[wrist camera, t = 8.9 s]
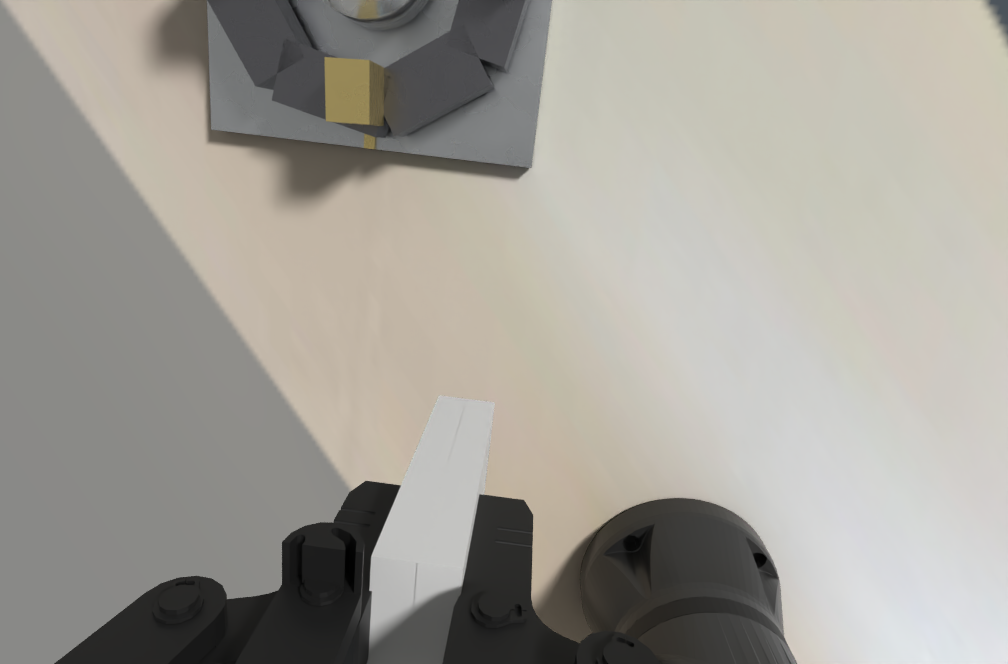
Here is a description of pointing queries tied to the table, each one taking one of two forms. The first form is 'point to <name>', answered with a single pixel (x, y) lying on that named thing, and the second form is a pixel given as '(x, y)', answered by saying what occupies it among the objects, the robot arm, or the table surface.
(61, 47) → the table surface
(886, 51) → the table surface
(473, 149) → the base plate
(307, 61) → the octagonal block ring
